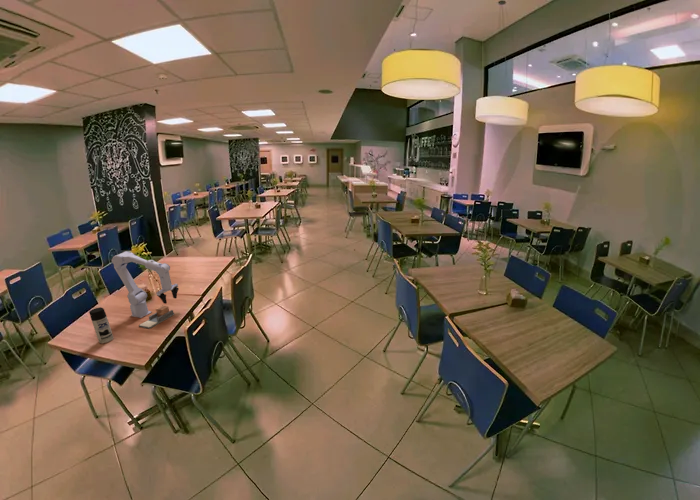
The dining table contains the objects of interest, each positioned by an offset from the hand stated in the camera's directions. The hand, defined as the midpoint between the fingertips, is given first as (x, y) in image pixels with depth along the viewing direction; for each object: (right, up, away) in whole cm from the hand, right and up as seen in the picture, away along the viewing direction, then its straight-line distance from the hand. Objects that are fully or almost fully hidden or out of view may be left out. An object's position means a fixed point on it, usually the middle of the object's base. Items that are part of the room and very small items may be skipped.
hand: (170, 300), depth 193 cm
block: (-4, -9, -1) cm, 10 cm away
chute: (-5, -12, -5) cm, 14 cm away
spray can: (-22, -19, -25) cm, 38 cm away
